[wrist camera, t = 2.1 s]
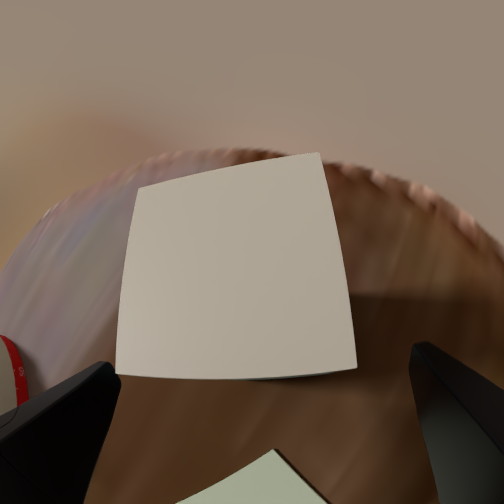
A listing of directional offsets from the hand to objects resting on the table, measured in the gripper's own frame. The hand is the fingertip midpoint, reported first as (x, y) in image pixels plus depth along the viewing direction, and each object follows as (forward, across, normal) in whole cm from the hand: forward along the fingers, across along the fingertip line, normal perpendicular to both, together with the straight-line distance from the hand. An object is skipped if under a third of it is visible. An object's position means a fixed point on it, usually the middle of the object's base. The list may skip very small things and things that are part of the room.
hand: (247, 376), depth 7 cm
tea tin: (+9, 0, +5) cm, 10 cm away
